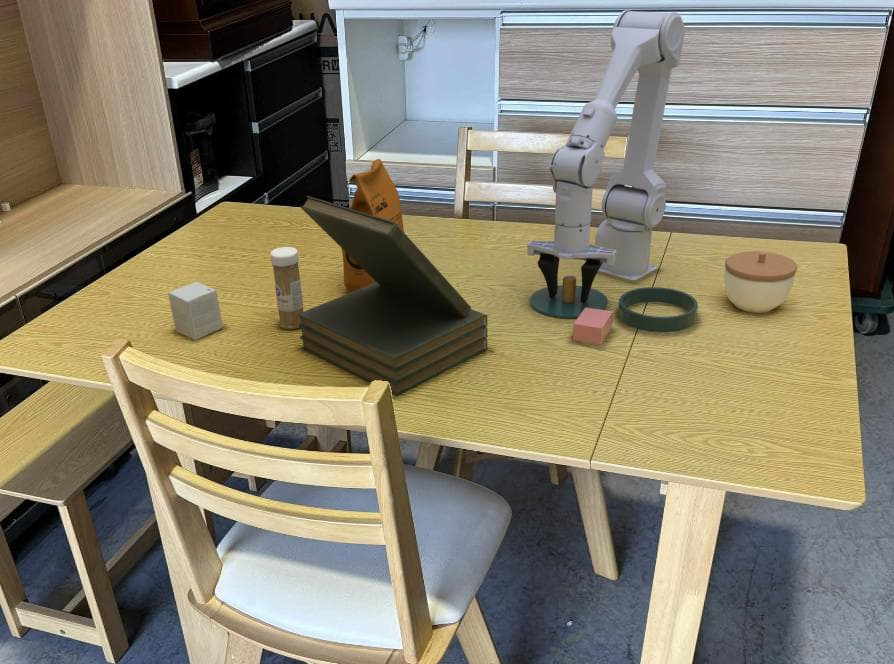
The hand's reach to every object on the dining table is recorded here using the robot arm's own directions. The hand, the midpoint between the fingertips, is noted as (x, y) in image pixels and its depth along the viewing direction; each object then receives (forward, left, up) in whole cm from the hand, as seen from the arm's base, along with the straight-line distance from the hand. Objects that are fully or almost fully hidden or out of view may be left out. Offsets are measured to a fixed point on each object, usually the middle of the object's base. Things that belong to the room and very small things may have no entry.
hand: (568, 298), depth 148 cm
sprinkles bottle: (-31, -36, -2) cm, 47 cm away
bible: (-11, -31, -2) cm, 33 cm away
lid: (0, 0, -1) cm, 1 cm away
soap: (+10, -7, -1) cm, 12 cm away
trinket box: (+23, +19, -2) cm, 30 cm away
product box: (-42, -48, -2) cm, 64 cm away
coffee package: (-33, -15, -2) cm, 36 cm away
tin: (+14, +5, -1) cm, 15 cm away
